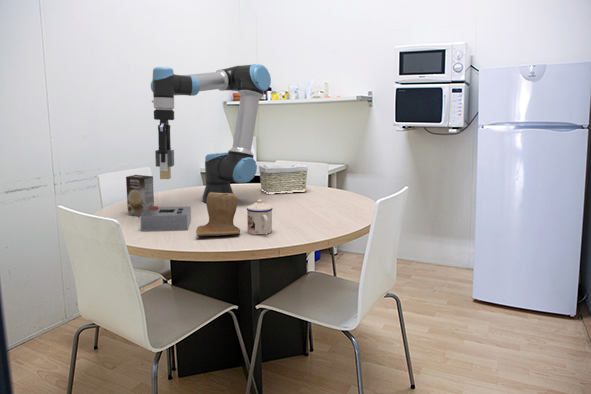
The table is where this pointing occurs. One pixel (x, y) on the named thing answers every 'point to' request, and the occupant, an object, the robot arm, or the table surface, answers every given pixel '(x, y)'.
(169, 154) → the plug
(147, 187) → the coffee box
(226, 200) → the brown wooden upright piece
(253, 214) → the teacup with lid
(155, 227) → the socket plate
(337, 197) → the table surface
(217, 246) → the table surface
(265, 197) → the table surface
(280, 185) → the storage basket
